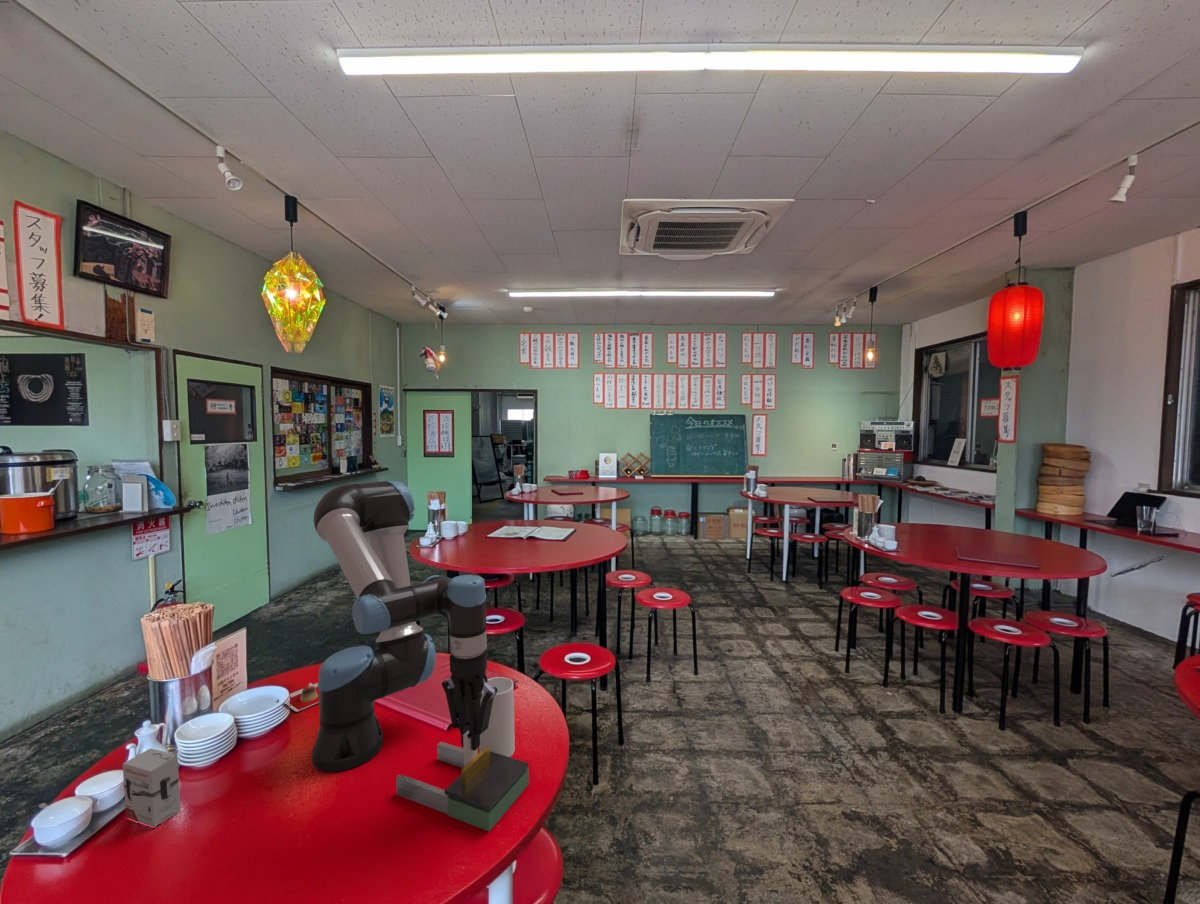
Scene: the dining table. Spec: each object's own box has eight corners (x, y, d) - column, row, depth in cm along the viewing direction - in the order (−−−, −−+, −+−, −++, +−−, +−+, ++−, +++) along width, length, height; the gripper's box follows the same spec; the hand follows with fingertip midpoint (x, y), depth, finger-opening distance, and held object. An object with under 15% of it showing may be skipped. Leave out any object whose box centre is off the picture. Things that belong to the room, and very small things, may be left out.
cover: (444, 794, 98) (444, 775, 98) (486, 753, 111) (486, 737, 111) (489, 810, 94) (489, 791, 94) (528, 766, 106) (528, 749, 106)
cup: (518, 741, 122) (517, 677, 121) (509, 763, 113) (507, 695, 113) (486, 740, 122) (484, 676, 122) (474, 761, 114) (473, 693, 114)
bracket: (396, 794, 104) (396, 777, 104) (441, 756, 116) (440, 741, 116) (448, 814, 98) (448, 796, 98) (490, 772, 111) (489, 756, 110)
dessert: (296, 715, 135) (295, 698, 135) (277, 702, 142) (276, 686, 142) (340, 696, 145) (340, 680, 145) (320, 685, 152) (319, 669, 152)
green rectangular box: (447, 815, 98) (447, 798, 98) (490, 771, 111) (490, 756, 111) (489, 831, 94) (488, 813, 94) (529, 784, 107) (528, 768, 107)
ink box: (123, 820, 98) (121, 762, 97) (153, 802, 103) (150, 747, 102) (153, 830, 95) (150, 770, 95) (181, 811, 100) (179, 754, 100)
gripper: (431, 653, 103) (434, 765, 103) (482, 664, 97) (485, 782, 98) (455, 640, 109) (458, 744, 110) (504, 649, 104) (507, 759, 105)
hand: (471, 762), depth 104 cm, fingers closed
